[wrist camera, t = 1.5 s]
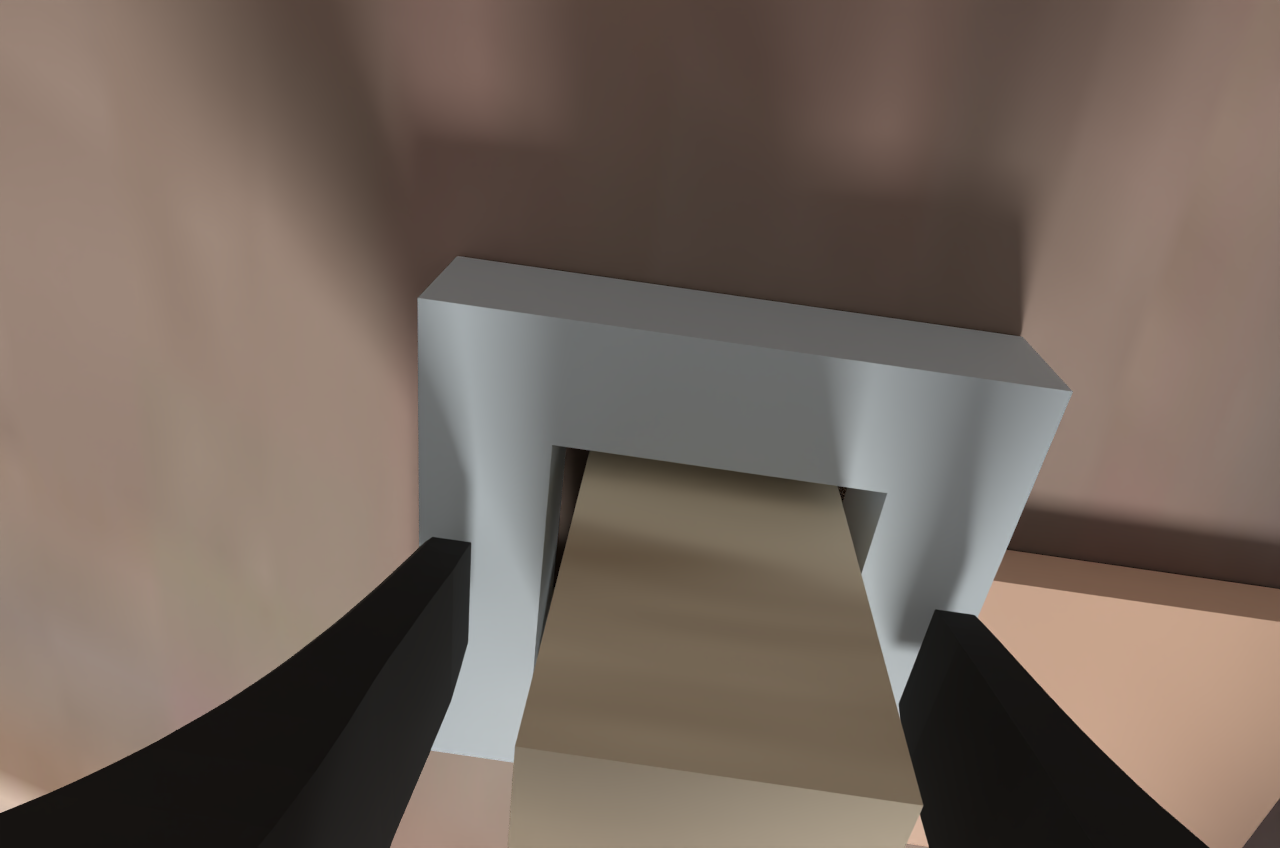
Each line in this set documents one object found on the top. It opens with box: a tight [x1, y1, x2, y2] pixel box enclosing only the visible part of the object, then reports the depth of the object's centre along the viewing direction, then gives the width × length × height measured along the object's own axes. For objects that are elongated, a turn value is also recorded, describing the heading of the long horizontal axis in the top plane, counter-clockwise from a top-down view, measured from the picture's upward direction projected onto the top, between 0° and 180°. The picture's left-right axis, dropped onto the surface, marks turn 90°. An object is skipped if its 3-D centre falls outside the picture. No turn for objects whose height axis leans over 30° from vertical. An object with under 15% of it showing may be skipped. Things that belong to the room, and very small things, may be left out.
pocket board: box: [418, 256, 1073, 762], centre depth 14 cm, size 9×9×2 cm
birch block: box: [507, 450, 923, 848], centre depth 12 cm, size 4×4×7 cm
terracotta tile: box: [907, 550, 1280, 848], centre depth 16 cm, size 7×7×1 cm
